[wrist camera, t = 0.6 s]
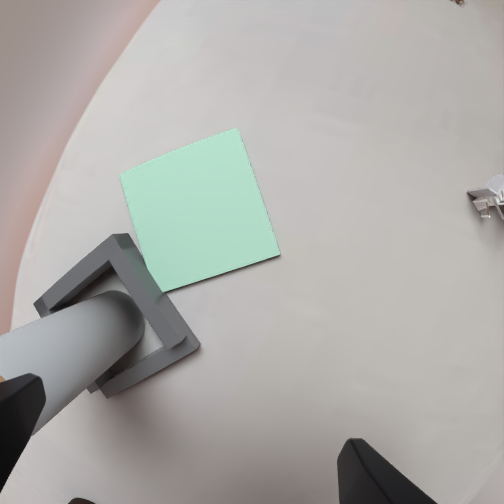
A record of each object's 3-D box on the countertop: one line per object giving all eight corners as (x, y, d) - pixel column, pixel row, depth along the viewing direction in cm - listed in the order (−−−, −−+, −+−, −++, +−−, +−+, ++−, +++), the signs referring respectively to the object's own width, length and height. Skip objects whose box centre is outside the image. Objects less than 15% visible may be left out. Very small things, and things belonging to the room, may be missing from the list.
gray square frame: (200, 343, 22) (192, 356, 20) (113, 392, 23) (100, 406, 21) (128, 233, 22) (112, 234, 19) (51, 297, 23) (33, 303, 20)
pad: (280, 253, 21) (280, 254, 21) (158, 293, 22) (156, 294, 22) (237, 129, 21) (237, 127, 21) (121, 175, 22) (119, 174, 21)
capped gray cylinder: (132, 358, 23) (18, 469, 8) (85, 328, 23) (-47, 404, 8) (153, 310, 22) (22, 405, 8) (103, 279, 22) (-50, 331, 8)
